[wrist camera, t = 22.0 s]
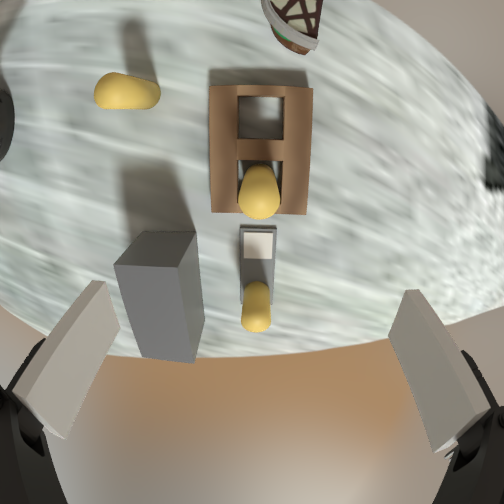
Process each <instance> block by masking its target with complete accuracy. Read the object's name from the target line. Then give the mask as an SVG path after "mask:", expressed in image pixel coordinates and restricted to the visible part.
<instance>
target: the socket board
mask: <svg viewBox="0 0 504 504" xmlns="http://www.w3.org/2000/svg"><path fill="white" fill-rule="evenodd" d="M239 97H278V98H283V134H282V139H259V138H239ZM312 110H313V88H304V87H292V86H274V85H221V86H209V137H210V184H211V211H212V213H243V212H242V210H241V208H240V206H239V203H238V196H239V193H238V160H270V161H282V163H281V187H280V204H279V207H278V209H277V211H276V212H275V213H274V214H296V215H306V210H307V198H308V185H309V171H310V155H311V135H312Z"/></svg>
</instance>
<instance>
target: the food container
mask: <svg viewBox="0 0 504 504" xmlns="http://www.w3.org/2000/svg"><path fill="white" fill-rule="evenodd" d="M322 3H323V0H261V4H262V8H263V11H264V14H265V16H266V18H267V19H268V21H269V22H270V23H271V28H272V31H273V34H274V35H275V37H276V38H277V40H278V41H279V42H280V43H281V44H282V45H284V46H285V47H286V48H288V49H290V50H291V51H293V52H296V53H298V54H302V55H306V54H307V53H308V52H309V51H310V50H315V49H316V47H317V45H318V42H319V40H317V36H318V28H319V22H320V15H321V9H322Z"/></svg>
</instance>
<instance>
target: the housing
mask: <svg viewBox="0 0 504 504" xmlns="http://www.w3.org/2000/svg"><path fill="white" fill-rule="evenodd" d="M113 265H114V269H115V273H116V277H117V281H118V284H119V288H120V292H121V295H122V299H123V302H124V305H125V309H126V312H127V315H128V318H129V321H130V324H131V327H132V330H133V333H134V336H135V339H136V342H137V344H138V347H139V350H140V352H141V355H142V357H146V358H153V359H160V360H167V361H176V362H185V363H194V362H195V358H196V354H197V350H198V346H199V342H200V338H201V334H202V330H203V326H204V322H205V316H204V307H203V298H202V289H201V279H200V269H199V258H198V246H197V234H196V232H142V233H141V234H140V235H139V236H138V237H137V239H136V240H135V241H134V242H133V243H132V244H131V245H130V246H129V247H128V248H127V250H126V251H125V252H124V253H123V254H122V255H121V256H120V257H119V259H118V260H117V261H116V262H115V263H114V264H113Z"/></svg>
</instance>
